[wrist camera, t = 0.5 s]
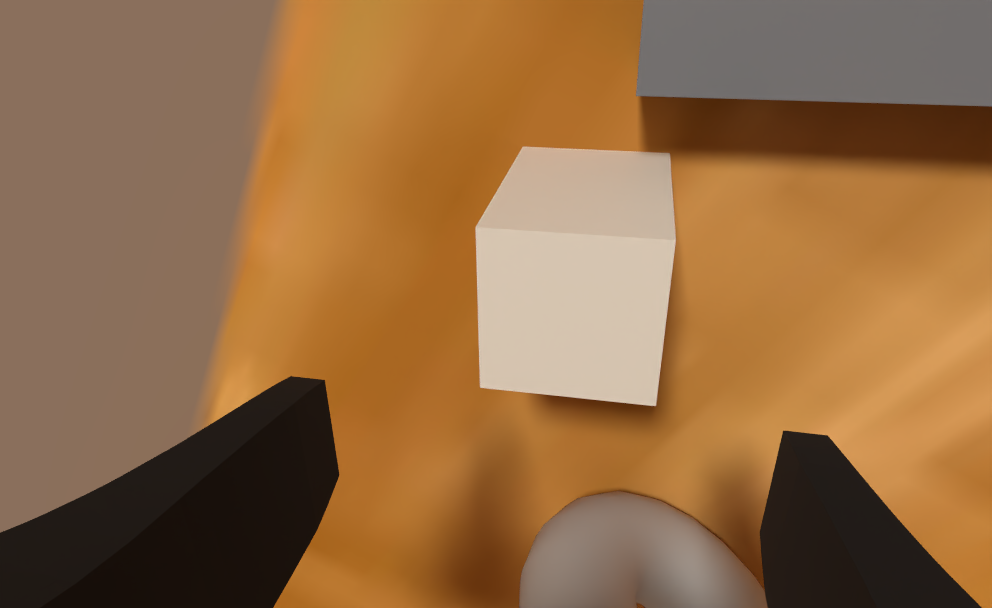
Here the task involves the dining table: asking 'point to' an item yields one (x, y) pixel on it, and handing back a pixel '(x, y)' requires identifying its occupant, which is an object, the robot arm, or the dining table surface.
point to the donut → (632, 559)
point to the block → (577, 274)
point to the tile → (818, 50)
